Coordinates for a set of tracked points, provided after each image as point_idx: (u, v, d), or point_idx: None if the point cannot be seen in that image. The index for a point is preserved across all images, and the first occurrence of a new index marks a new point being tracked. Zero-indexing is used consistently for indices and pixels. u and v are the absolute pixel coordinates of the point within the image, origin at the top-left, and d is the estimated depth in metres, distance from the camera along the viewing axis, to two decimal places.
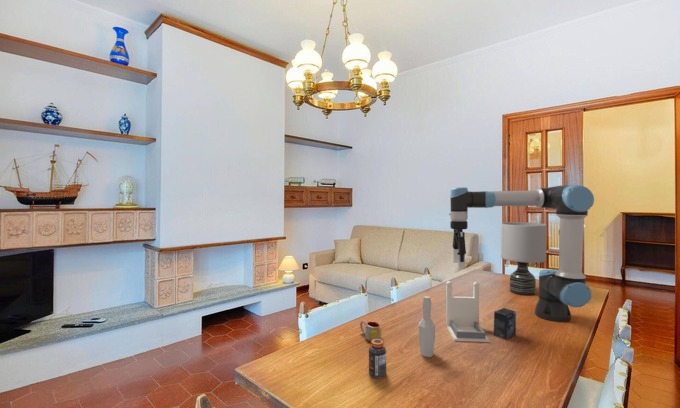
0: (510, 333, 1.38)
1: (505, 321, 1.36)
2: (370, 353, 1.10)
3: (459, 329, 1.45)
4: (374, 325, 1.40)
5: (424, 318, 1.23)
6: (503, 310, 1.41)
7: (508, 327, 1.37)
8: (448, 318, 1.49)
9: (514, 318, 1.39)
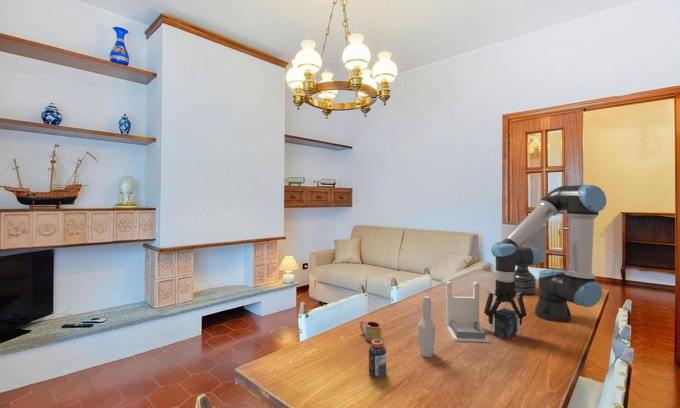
0: (510, 333, 1.38)
1: (505, 321, 1.36)
2: (370, 353, 1.10)
3: (459, 329, 1.45)
4: (374, 325, 1.40)
5: (424, 318, 1.23)
6: (503, 310, 1.41)
7: (508, 327, 1.37)
8: (448, 318, 1.49)
9: (514, 318, 1.39)
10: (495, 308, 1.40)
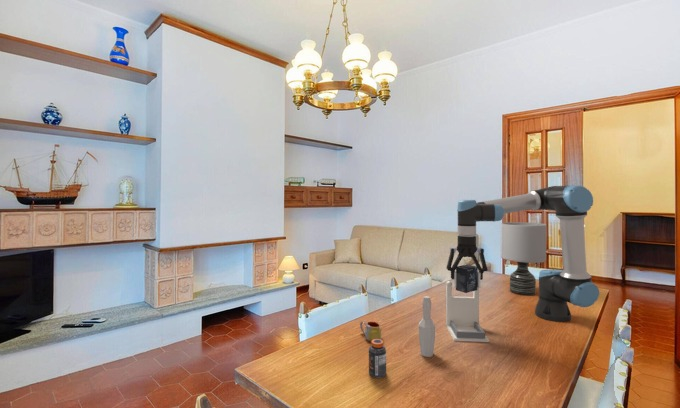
0: (471, 287, 1.39)
1: (465, 275, 1.38)
2: (370, 353, 1.10)
3: (459, 329, 1.45)
4: (374, 325, 1.40)
5: (424, 318, 1.23)
6: (465, 265, 1.42)
7: (469, 281, 1.38)
8: (448, 318, 1.49)
9: (475, 273, 1.41)
10: (457, 263, 1.41)
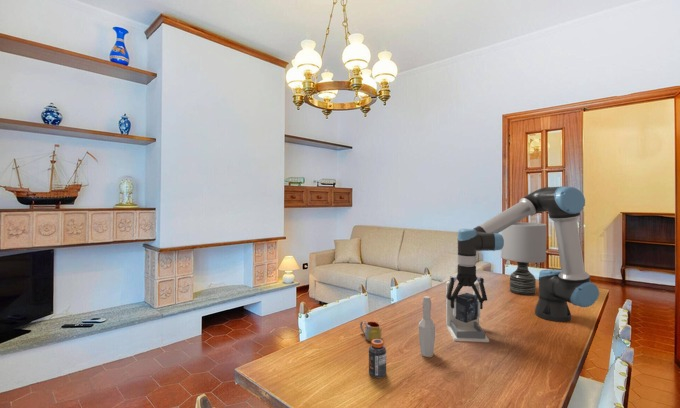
0: (471, 317, 1.40)
1: (465, 305, 1.38)
2: (370, 353, 1.10)
3: (459, 329, 1.45)
4: (374, 325, 1.40)
5: (424, 318, 1.23)
6: (465, 294, 1.43)
7: (469, 311, 1.39)
8: (448, 318, 1.49)
9: (475, 302, 1.41)
10: (456, 292, 1.41)
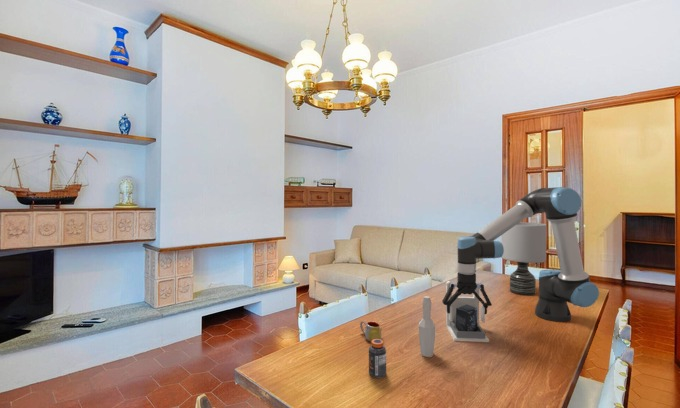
0: (471, 329, 1.40)
1: (466, 318, 1.38)
2: (370, 353, 1.10)
3: None
4: (374, 325, 1.40)
5: (424, 318, 1.23)
6: (465, 307, 1.43)
7: (469, 324, 1.39)
8: (448, 318, 1.49)
9: (475, 314, 1.41)
10: (454, 298, 1.41)
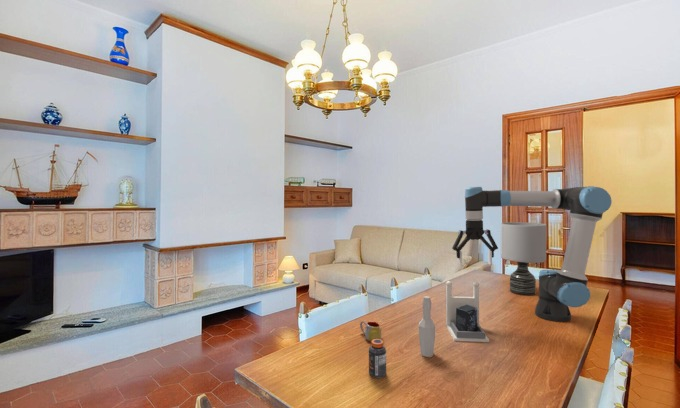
0: (471, 329, 1.40)
1: (466, 318, 1.38)
2: (370, 353, 1.10)
3: None
4: (374, 325, 1.40)
5: (424, 318, 1.23)
6: (465, 307, 1.43)
7: (469, 324, 1.39)
8: (448, 318, 1.49)
9: (475, 314, 1.41)
10: (463, 244, 1.52)
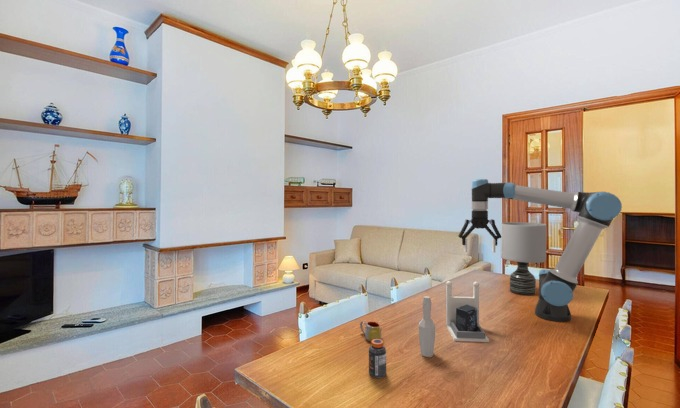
0: (471, 329, 1.40)
1: (466, 318, 1.38)
2: (370, 353, 1.10)
3: None
4: (374, 325, 1.40)
5: (424, 318, 1.23)
6: (465, 307, 1.43)
7: (469, 324, 1.39)
8: (448, 318, 1.49)
9: (475, 314, 1.41)
10: (469, 232, 1.64)
